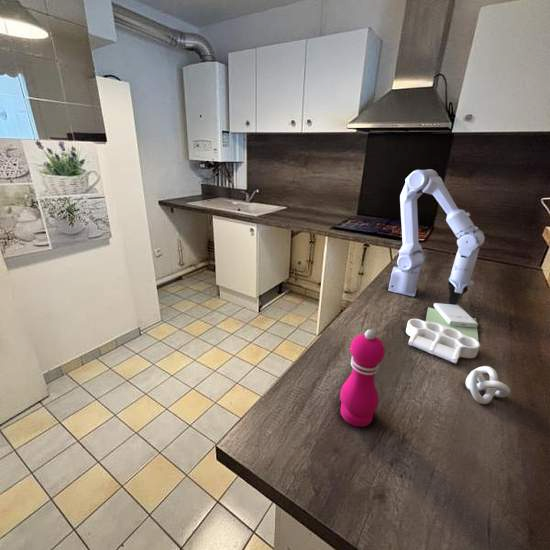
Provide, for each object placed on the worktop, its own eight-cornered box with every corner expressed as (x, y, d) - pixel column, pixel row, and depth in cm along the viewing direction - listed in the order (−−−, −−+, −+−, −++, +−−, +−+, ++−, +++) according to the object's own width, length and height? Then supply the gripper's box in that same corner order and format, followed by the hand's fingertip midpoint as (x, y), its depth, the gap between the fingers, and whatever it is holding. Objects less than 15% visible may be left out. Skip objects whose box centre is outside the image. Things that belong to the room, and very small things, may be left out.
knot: (486, 414, 59) (495, 393, 57) (450, 387, 66) (457, 367, 64) (509, 403, 62) (518, 382, 60) (472, 378, 69) (480, 358, 66)
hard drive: (458, 309, 100) (477, 327, 88) (433, 307, 100) (448, 325, 89) (459, 305, 99) (478, 323, 87) (434, 302, 100) (450, 320, 88)
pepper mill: (333, 400, 62) (344, 319, 54) (366, 398, 62) (381, 318, 55) (344, 430, 55) (357, 343, 47) (380, 428, 56) (400, 342, 48)
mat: (424, 326, 89) (424, 326, 89) (428, 307, 100) (428, 307, 100) (478, 341, 83) (478, 340, 83) (475, 319, 94) (476, 318, 94)
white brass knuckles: (395, 342, 81) (412, 322, 91) (469, 373, 70) (479, 346, 80) (397, 332, 80) (414, 312, 90) (473, 362, 69) (483, 336, 79)
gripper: (479, 277, 87) (466, 316, 92) (476, 263, 99) (465, 298, 104) (452, 272, 90) (441, 310, 96) (452, 259, 102) (443, 293, 107)
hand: (452, 303), depth 100 cm, fingers closed
